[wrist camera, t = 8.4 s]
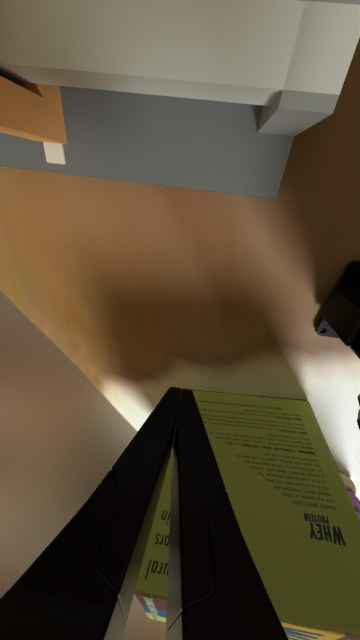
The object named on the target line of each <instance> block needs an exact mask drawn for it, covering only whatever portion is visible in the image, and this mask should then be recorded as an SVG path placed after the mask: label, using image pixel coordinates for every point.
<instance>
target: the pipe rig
mask: <svg viewBox="0 0 360 640" xmlns="http://www.w3.org/2000/svg"><path fill="white" fill-rule="evenodd" d="M359 38H360V0H0V76H2V77H4V78H6V79H8V80H10V81H12V82H13V83H15V84H17V85H21V86H26V82H27V83H37V84H48V85H58V86H60V93H61V101H62V108H63V115H64V123H65V130H66V137H67V144H59V143H50V142H41V141H34V140H30V139H26V138H22V137H18V136H14V135H10V134H6V133H2V132H0V166H4V167H13V168H21V169H30V170H38V171H46V172H55V173H63V174H72V175H80V176H89V177H97V178H105V179H114V180H122V181H131V182H139V183H147V184H156V185H164V186H173V187H181V188H189V189H198V190H206V191H215V192H223V193H232V194H240V195H248V196H257V197H265V198H274V199H276V198H277V194H278V191H279V187H280V184H281V181H282V177H283V174H284V170H285V167H286V163H287V160H288V157H289V153H290V150H291V146H292V143H293V139H294V136H296V135H297V134H299V133H301V132H302V131H304V130H306V129H308V128H309V127H311V126H313V125H314V124H316V123H318V122H320V121H321V120H323V119H325V118H326V117H328V116H330V115H331V114H333V112H334V109H335V106H336V104H337V101H338V98H339V95H340V92H341V89H342V86H343V84H344V81H345V78H346V75H347V72H348V69H349V66H350V63H351V61H352V58H353V55H354V52H355V49H356V46H357V43H358V41H359Z"/></svg>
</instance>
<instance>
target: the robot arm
mask: <svg viewBox="0 0 360 640" xmlns="http://www.w3.org/2000/svg"><path fill="white" fill-rule="evenodd" d="M355 266H358V268H357V269H356V270H353V268H354V267H355ZM323 328H324V330H322V331H320V330H321V329H323ZM315 331H316V332H317V334H318V335H321V336H328V337H334V338H340V340H341V341H342V342H343V343H344V344H345V345H346V346H349V347H350V348H351V349H352V350H353V352H354V353H355V354H356V355H357V356H358V358H359V359H360V261H358V260H357V261H352V262H351V263H349V264H348V266H347V267H346V269H345V271H344V273H343V275H342V277H341V279H340V281H339V283H338V285H337V287H335V288H334V290H333V292H332V294H331V296H330V298H329V299H328V301H327V303H326V305H325V307H324V309H323V311H322V313H321V318H320V320H319V321H318V323H317V325H316V327H315ZM179 401H180V402H179ZM358 401H359V405H360V394H359V396H358ZM178 408H179V409H178ZM177 415H178V416H177ZM357 423H358V426H359V429H360V410H359V412H358V418H357ZM175 428H176V429H175ZM174 435H175V436H174ZM173 441H174V443H173ZM172 447H173V452H172ZM171 452H172V477H171V505H170V532H169V560H168V588H167V615H166V631H167V632H166V640H289V639H288V637H287V634H286V632H285V630H284V628H283V625H282V623H281V621H280V619H279V616H278V614H277V612H276V610H275V607H274V605H273V603H272V601H271V598H270V596H269V594H268V592H267V589H266V587H265V585H264V583H263V580H262V578H261V576H260V574H259V571H258V569H257V567H256V565H255V562H254V560H253V558H252V555H251V553H250V551H249V548H248V546H247V544H246V541H245V539H244V536H243V534H242V532H241V529H240V526H239V524H238V521H237V518H236V515H235V513H234V510H233V507H232V504H231V501H230V498H229V496H228V493H227V492H225V491H226V487H225V484H224V481H223V478H222V475H221V472H220V469H219V467H218V464H217V461H216V458H215V455H214V452H213V449H212V446H211V443H210V440H209V437H208V434H207V431H206V428H205V425H204V423H203V420H202V417H201V414H200V411H199V408H198V405H197V402H196V399H195V396H194V393H193V391H192V390H189V389H182V390H181V389H180V388H177V387H170V388H169V389H168V391H167V392H166V394H165V395H164V396H163V398H162V399H161V400H160V402H159V403H158V405H157V406H156V407H155V409H154V410H153V412H152V413H151V414H150V416H149V417H148V418H147V420H146V421H145V423H144V424H143V425H142V427H141V428H140V429H139V431H138V432H137V434H136V435H135V436H134V438H133V439H132V441H131V442H130V443H129V445H128V446H127V447H126V449H125V450H124V452H123V453H122V454H121V456H120V457H119V458H118V460H117V461H116V463H115V464H114V465H113V467H112V470H110V471H109V472H108V473H107V475H106V476H105V478H104V479H103V480H102V482H101V483H100V484H99V486H98V487H97V488H96V490H95V491H94V492H93V494H92V495H91V496H90V498H89V499H88V500H87V501H86V502H85V504H84V505H83V506H82V507H81V508H80V510H79V511H78V512H77V513H76V515H75V516H74V517H73V518H72V519H71V520H70V522H69V523H68V524H67V525H66V526H65V527H64V528H63V529H62V531H61V532H60V533H59V534H58V535H57V536H56V538H55V539H54V540H53V541H52V542H51V543H50V544H49V546H48V547H47V548H46V549H45V550H44V551H43V552H42V553H41V554H40V556H39V557H38V558H37V559H36V560H35V561H34V562H33V564H32V565H31V566H30V567H29V568H28V569H27V570H26V571H25V573H24V574H23V575H22V576H21V577H20V578H19V579H18V580H17V581H16V583H15V584H14V585H13V586H12V587H11V588H10V589H9V590H8V591H7V592H6V593H5V594H4V595H3V597H1V598H0V640H122V636H123V633H124V629H125V625H126V623H125V622H126V621H127V618H128V614H129V610H130V606H131V603H132V599H133V595H134V591H135V588H136V584H137V580H138V576H139V573H140V569H141V565H142V561H143V558H144V554H145V550H146V546H147V543H148V539H149V535H150V531H151V528H152V524H153V520H154V516H155V513H156V509H157V505H158V501H159V497H160V494H161V490H162V486H163V482H164V479H165V475H166V471H167V467H168V464H169V460H170V456H171Z"/></svg>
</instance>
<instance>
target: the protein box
mask: <svg viewBox="0 0 360 640" xmlns="http://www.w3.org/2000/svg"><path fill="white" fill-rule="evenodd" d="M181 390H182V389H181ZM192 391H193V393H194V396H195V399H196V402H197V405H198V408H199V411H200V414H201V417H202V420H203V423H204V425H205V428H206V431H207V434H208V437H209V440H210V443H211V446H212V449H213V452H214V455H215V458H216V461H217V464H218V467H219V469H220V472H221V475H222V478H223V481H224V484H225V487H226V491H225V492H227V493H228V496H229V498H230V501H231V504H232V507H233V510H234V513H235V515H236V518H237V521H238V524H239V526H240V529H241V532H242V534H243V536H244V539H245V541H246V544H247V546H248V548H249V551H250V553H251V555H252V558H253V560H254V562H255V565H256V567H257V569H258V571H259V574H260V576H261V578H262V580H263V583H264V585H265V587H266V589H267V592H268V594H269V596H270V598H271V601H272V603H273V605H274V607H275V610H276V612H277V614H278V616H279V619H280V621H281V623H282V625H283V628H284V630H285V632H286V634H287V637H288V639H289V640H360V519H359V517H358V514H357V512H356V510H355V508H354V505H353V503H352V500H351V498H350V496H349V494H348V491H347V489H346V487H345V485H344V482H343V480H342V478H341V475H340V473H339V471H338V468H337V466H336V463H335V461H334V459H333V457H332V455H331V452H330V450H329V447H328V445H327V443H326V441H325V438H324V436H323V434H322V432H321V429H320V427H319V425H318V422H317V420H316V418H315V415H314V413H313V410H312V408H311V406H310V403H309V402H308V401H302V400H291V399H281V398H270V397H259V396H248V395H238V394H228V393H216V392H205V391H195V390H192ZM179 402H180V401H179ZM178 409H179V408H178ZM177 416H178V415H177ZM175 429H176V428H175ZM174 436H175V435H174ZM173 443H174V441H173ZM172 452H173V447H172ZM172 452H171V456H170V460H169V464H168V467H167V471H166V475H165V479H164V482H163V486H162V490H161V494H160V497H159V501H158V505H157V509H156V513H155V516H154V520H153V524H152V528H151V531H150V535H149V539H148V543H147V546H146V550H145V554H144V558H143V561H142V565H141V569H140V573H139V576H138V580H137V584H136V588H135V591H134V594H135V596H136V597H137V599H138V600H139V602H140V603H141V605H142V607H143V608H144V610H145V612H146V614H147V616H148V617H149V618H151V619H154V620H158V621H164V622H166V615H167V588H168V560H169V532H170V505H171V477H172Z"/></svg>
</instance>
